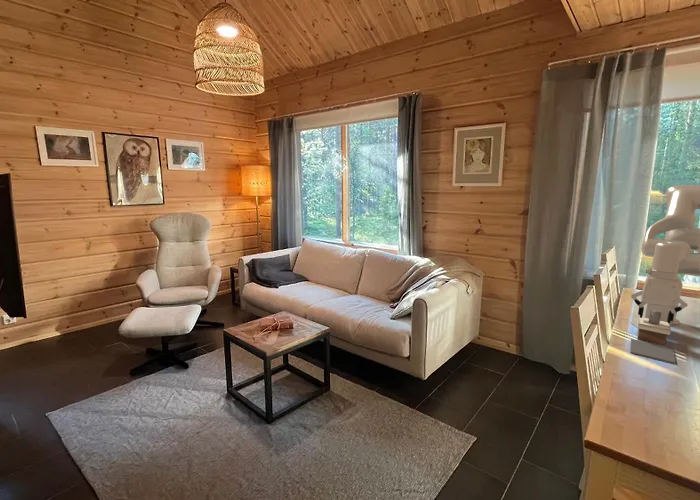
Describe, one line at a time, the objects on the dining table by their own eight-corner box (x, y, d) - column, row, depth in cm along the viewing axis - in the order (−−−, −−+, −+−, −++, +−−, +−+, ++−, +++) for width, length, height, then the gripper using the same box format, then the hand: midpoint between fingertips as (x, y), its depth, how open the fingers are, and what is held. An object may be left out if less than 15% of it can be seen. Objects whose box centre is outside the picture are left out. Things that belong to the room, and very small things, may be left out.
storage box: (637, 333, 146) (640, 319, 144) (663, 338, 141) (666, 324, 140) (637, 339, 139) (640, 325, 138) (664, 345, 134) (667, 330, 133)
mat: (630, 340, 139) (631, 338, 139) (672, 349, 132) (672, 348, 131) (630, 353, 128) (630, 351, 128) (675, 364, 121) (675, 362, 121)
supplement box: (667, 333, 146) (674, 298, 143) (642, 331, 148) (648, 296, 145) (653, 325, 155) (660, 291, 152) (629, 322, 156) (635, 289, 153)
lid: (637, 321, 146) (640, 305, 144) (668, 327, 140) (671, 311, 139) (637, 328, 138) (640, 312, 137) (669, 334, 133) (673, 318, 131)
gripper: (633, 272, 137) (625, 316, 141) (696, 281, 127) (685, 328, 130) (633, 269, 143) (626, 311, 147) (693, 277, 133) (683, 322, 136)
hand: (654, 319), depth 138 cm, fingers open, 7 cm apart
